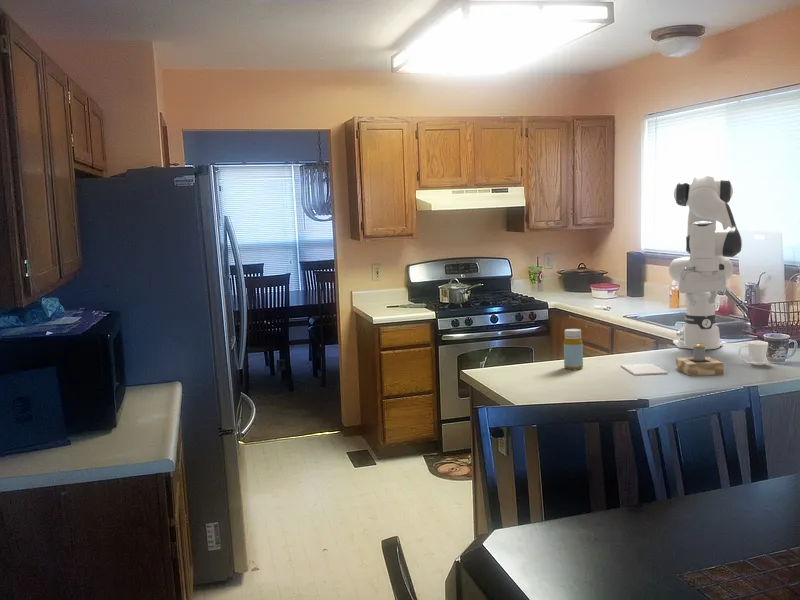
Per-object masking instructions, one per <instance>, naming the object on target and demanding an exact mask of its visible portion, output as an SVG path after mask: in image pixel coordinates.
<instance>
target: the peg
mask: <svg viewBox="0 0 800 600" xmlns="http://www.w3.org/2000/svg"><path fill="white" fill-rule="evenodd" d="M692 357H693V362H694V363H696V362H705V357H706V349H705V344H701V343H696V344H693V349H692Z"/></svg>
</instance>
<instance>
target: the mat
mask: <svg viewBox="0 0 800 600" xmlns="http://www.w3.org/2000/svg"><path fill="white" fill-rule="evenodd" d="M620 367H621V368H623V369H624V370H626V371H627V372H629V373H630V374H632V375H633V376H651V375H652V376H653V375H655V374H657V375H668V374H669V372H668V371H666V370H665V369H663V368H661V367H659V366H657V365H656V364H654V363H640V364H639V363H638V364H637V363H635V364H634V363H633V364H621V365H620Z"/></svg>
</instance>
